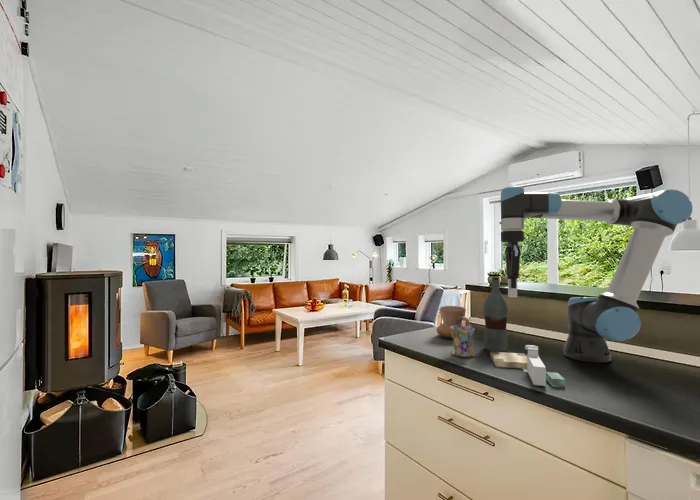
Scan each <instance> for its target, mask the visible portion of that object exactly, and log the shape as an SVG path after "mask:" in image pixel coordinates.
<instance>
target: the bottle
mask: <svg viewBox="0 0 700 500" xmlns="http://www.w3.org/2000/svg"><path fill="white" fill-rule="evenodd" d="M491 279H492V281H491V282H492V283H491V290H490V292H489V293H488V295H487V297H486V298H485V300H484V305H483V313H484V324H485V327H484V335H483V342H484V347H485V349H486V350H487V351H490V352H507V349H508V344H509V339H508V332H507V330H508V329H507V323H508V311H509V310H508V303H507V300H506V298H505V297H504V296H503V294H502V293H501V291H500V283H499V282H500V277H499V276H492V277H491Z"/></svg>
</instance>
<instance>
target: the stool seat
mask: <svg viewBox="0 0 700 500" xmlns="http://www.w3.org/2000/svg"><path fill="white" fill-rule="evenodd" d="M489 353H490V355H489V357H490V359H491V360H492V363H493V364H494V366H495V367H496V368H509V369H510V368H512V369H522V370H523V372H524V373H528V371H527V354H525V353H521V352H506V351H504V352H495V351H490V352H489ZM546 382H547V383H549V385H550V386H551V387H554V388H565V387H566V379H565V378H564V377H563V376H562V375H560V374H559V373H558V372H553V371H552V372H550V371H546Z"/></svg>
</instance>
